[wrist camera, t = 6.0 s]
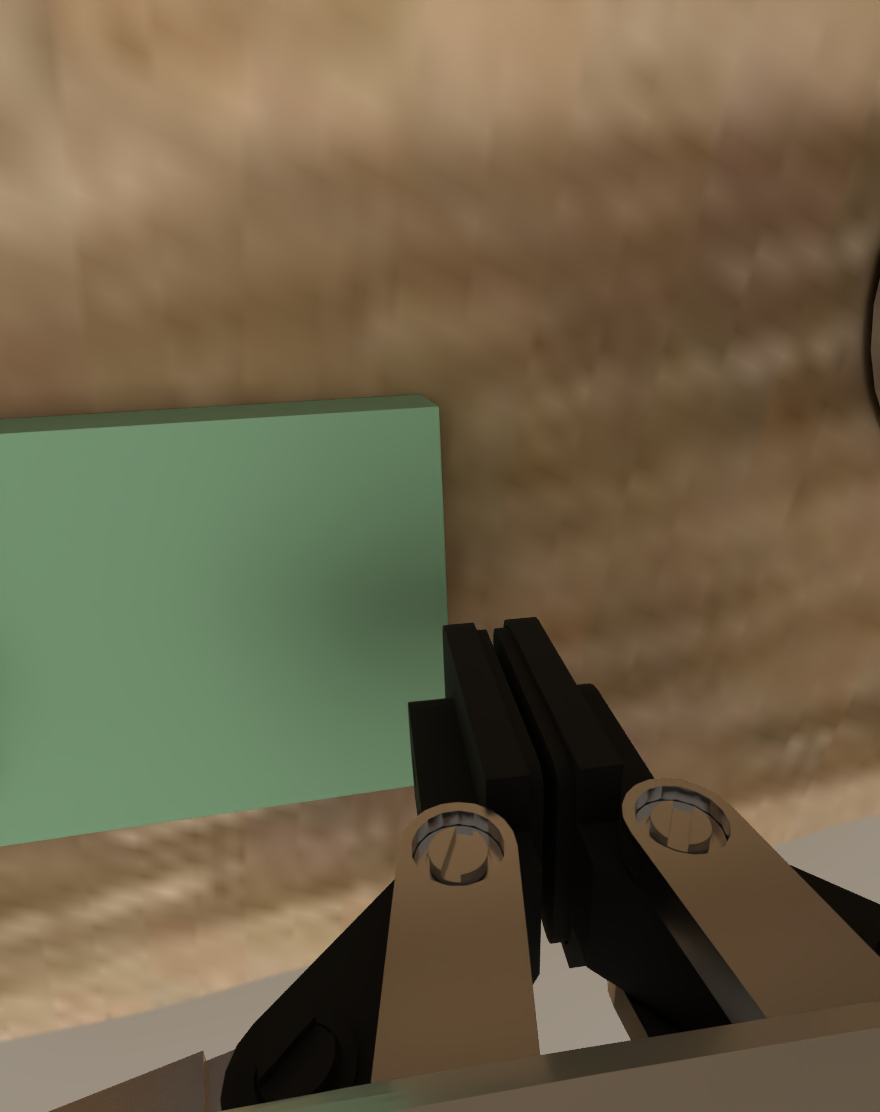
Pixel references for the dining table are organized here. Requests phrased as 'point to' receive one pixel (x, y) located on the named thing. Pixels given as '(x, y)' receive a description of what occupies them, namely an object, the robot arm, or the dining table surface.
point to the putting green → (214, 608)
